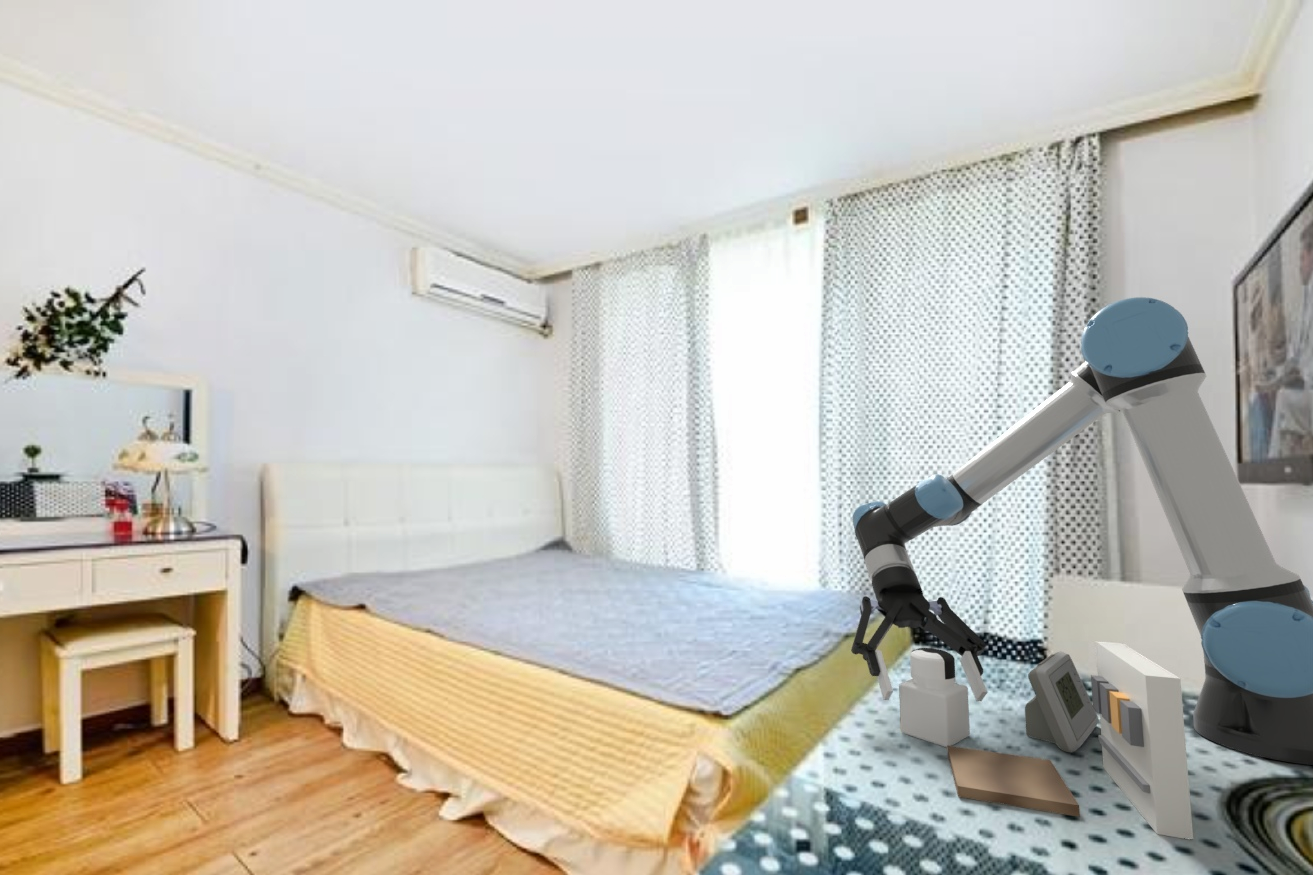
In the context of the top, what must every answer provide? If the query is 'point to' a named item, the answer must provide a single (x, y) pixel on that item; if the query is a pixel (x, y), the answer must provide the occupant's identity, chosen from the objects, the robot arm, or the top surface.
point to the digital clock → (1059, 704)
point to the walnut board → (1010, 780)
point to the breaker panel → (1143, 736)
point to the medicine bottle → (934, 699)
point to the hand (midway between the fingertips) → (935, 696)
